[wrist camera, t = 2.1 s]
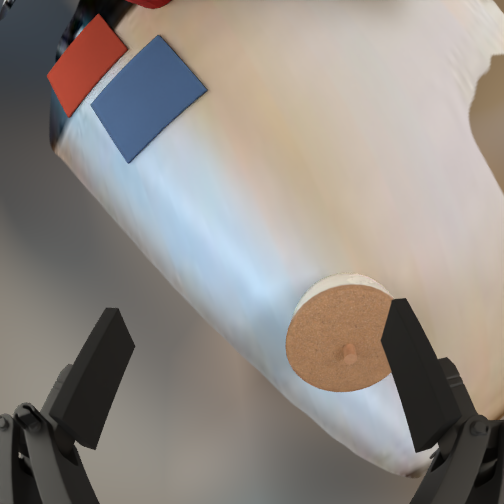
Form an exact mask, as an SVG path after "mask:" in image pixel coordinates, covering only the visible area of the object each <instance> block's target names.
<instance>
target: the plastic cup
mask: <svg viewBox="0 0 504 504" xmlns="http://www.w3.org/2000/svg"><path fill="white" fill-rule="evenodd" d="M126 1H128V2H131V3H135V4H138V5H140V6H143V7H146V8H151V9H155V8H160V7H162V6H164V5H166V4H167V3H169V2H170V1H171V0H126Z"/></svg>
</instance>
